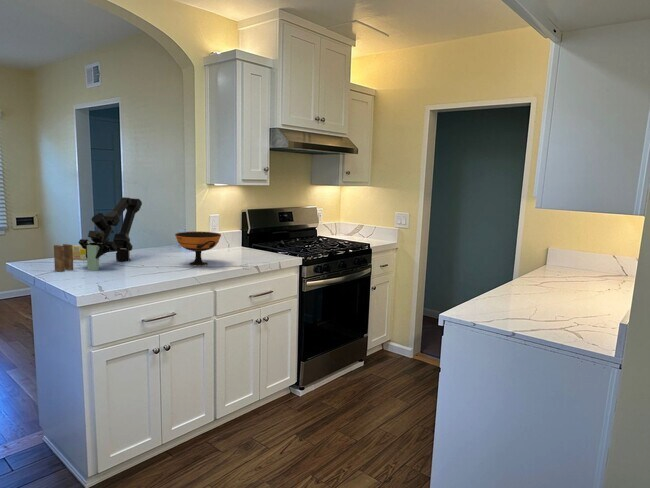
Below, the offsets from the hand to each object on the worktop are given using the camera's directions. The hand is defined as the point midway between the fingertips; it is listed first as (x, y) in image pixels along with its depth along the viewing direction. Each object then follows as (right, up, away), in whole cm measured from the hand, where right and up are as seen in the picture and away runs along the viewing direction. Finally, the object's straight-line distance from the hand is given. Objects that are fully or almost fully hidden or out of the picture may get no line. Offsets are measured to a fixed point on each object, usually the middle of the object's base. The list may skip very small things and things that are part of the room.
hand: (91, 257), depth 234 cm
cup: (+47, -5, +28) cm, 56 cm away
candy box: (-17, -2, +27) cm, 32 cm away
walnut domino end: (-15, -6, -3) cm, 16 cm away
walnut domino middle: (-13, -6, +1) cm, 14 cm away
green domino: (0, -6, +2) cm, 7 cm away
